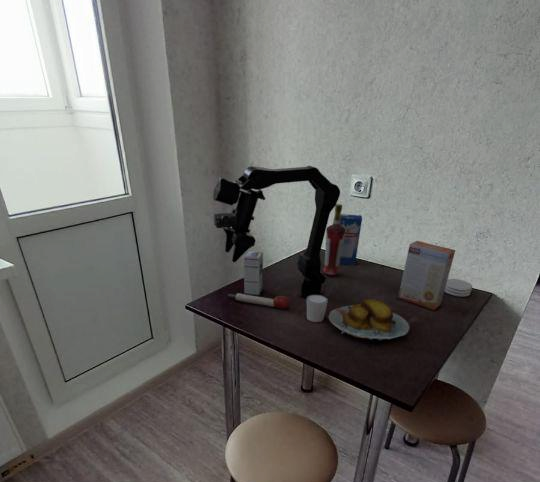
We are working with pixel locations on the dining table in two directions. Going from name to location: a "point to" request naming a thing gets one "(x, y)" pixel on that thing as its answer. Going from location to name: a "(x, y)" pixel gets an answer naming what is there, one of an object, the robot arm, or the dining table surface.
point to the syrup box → (253, 273)
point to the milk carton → (350, 238)
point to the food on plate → (369, 320)
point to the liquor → (334, 244)
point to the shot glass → (316, 308)
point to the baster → (263, 300)
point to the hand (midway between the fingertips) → (230, 256)
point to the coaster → (458, 288)
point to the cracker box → (426, 274)
